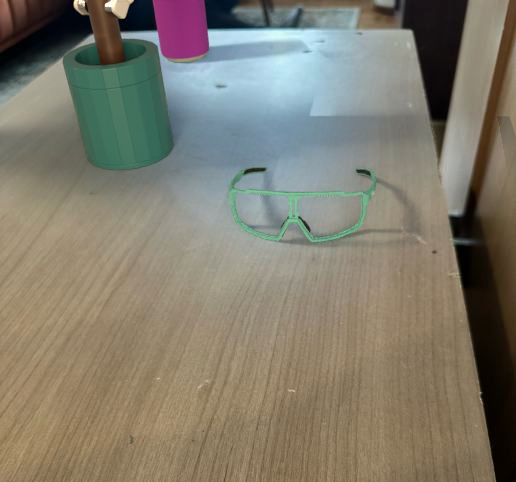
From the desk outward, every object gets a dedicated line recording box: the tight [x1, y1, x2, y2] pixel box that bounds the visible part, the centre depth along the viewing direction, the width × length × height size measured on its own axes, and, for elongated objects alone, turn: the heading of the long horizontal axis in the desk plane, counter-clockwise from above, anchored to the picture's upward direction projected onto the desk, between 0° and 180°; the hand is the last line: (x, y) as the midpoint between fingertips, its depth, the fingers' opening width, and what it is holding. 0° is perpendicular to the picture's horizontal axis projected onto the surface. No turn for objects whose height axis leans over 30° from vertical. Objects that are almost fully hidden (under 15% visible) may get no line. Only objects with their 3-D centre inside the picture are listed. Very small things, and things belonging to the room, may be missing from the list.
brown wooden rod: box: [86, 0, 128, 65], centre depth 67 cm, size 4×4×20 cm
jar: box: [61, 38, 174, 171], centre depth 73 cm, size 10×10×11 cm
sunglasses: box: [228, 166, 377, 243], centre depth 63 cm, size 14×15×5 cm
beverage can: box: [152, 0, 210, 64], centre depth 98 cm, size 8×8×12 cm
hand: (98, 13), depth 66 cm, fingers closed on brown wooden rod, 3 cm apart
